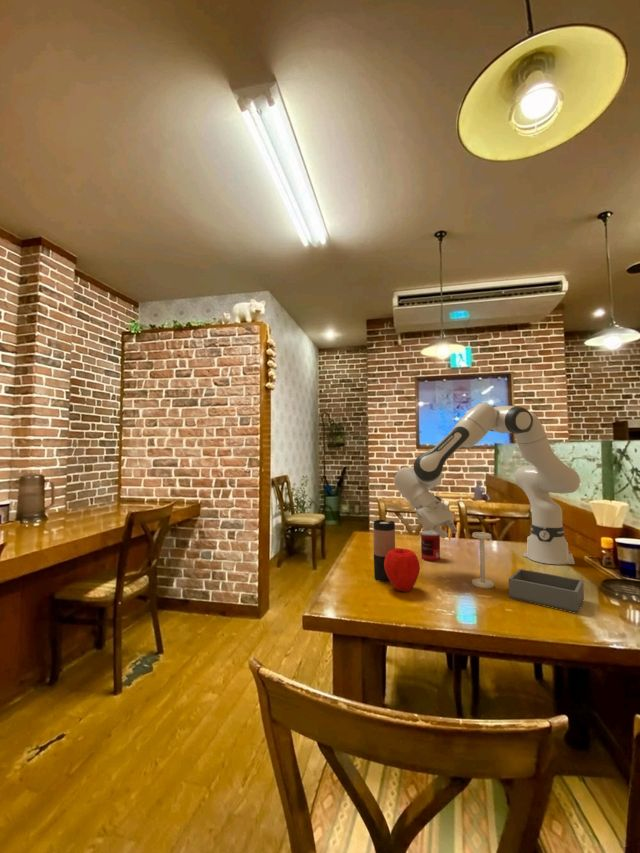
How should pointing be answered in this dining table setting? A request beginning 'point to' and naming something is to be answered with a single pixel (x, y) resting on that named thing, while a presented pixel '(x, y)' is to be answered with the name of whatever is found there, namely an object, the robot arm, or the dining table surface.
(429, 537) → the canned food
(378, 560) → the travel mug
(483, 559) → the pedestal dish
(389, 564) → the apple
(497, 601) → the dining table surface
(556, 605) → the tray
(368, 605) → the dining table surface
